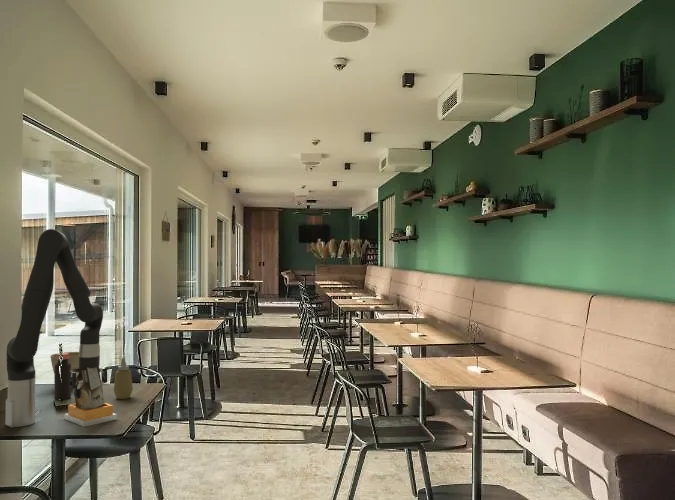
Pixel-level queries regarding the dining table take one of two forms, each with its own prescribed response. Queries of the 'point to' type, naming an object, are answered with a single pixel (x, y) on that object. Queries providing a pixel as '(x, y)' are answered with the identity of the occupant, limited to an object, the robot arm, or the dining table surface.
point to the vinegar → (62, 388)
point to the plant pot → (72, 360)
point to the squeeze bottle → (123, 381)
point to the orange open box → (90, 415)
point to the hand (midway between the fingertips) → (88, 396)
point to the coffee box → (89, 388)
